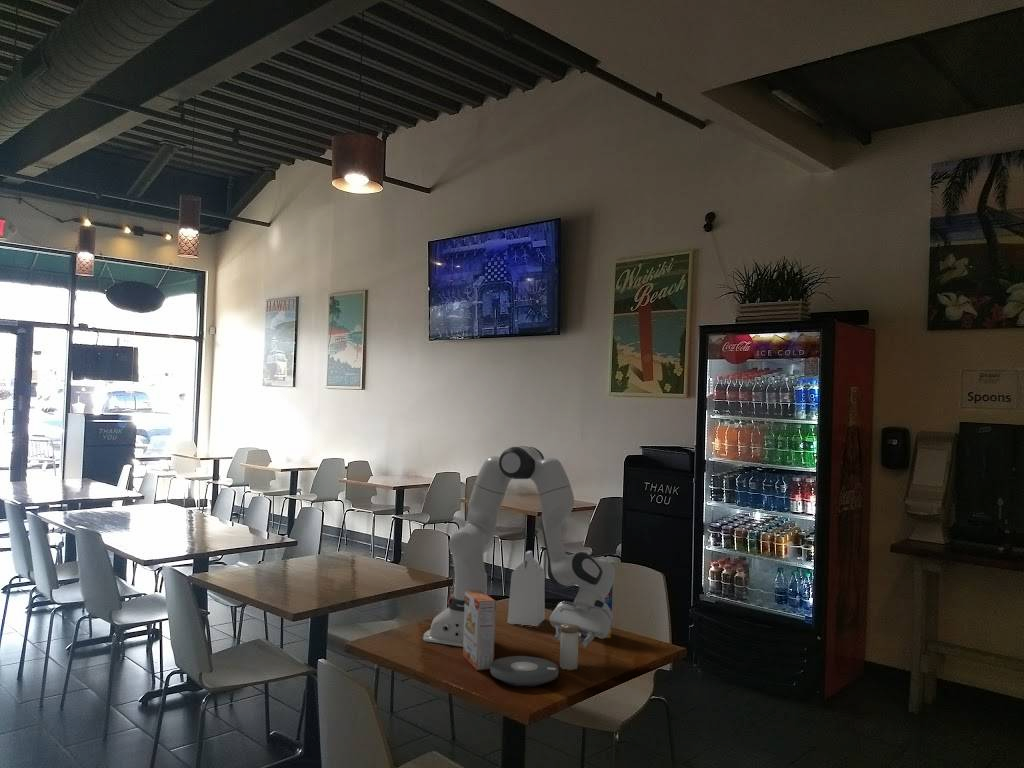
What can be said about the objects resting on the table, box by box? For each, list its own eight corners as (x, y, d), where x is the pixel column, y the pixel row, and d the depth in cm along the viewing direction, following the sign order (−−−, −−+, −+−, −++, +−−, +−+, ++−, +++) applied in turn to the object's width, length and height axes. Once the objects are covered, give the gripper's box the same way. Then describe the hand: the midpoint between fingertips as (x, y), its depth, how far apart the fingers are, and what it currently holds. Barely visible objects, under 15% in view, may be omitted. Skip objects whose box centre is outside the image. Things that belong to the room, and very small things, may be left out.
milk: (515, 616, 293) (518, 548, 294) (544, 619, 290) (546, 550, 291) (507, 623, 282) (509, 553, 283) (537, 627, 279) (540, 555, 280)
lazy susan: (484, 680, 214) (484, 674, 214) (496, 658, 234) (496, 653, 234) (554, 687, 211) (554, 680, 211) (561, 664, 231) (561, 658, 231)
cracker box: (461, 657, 240) (464, 590, 241) (479, 655, 242) (482, 589, 243) (475, 671, 227) (478, 600, 228) (494, 669, 229) (496, 599, 230)
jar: (558, 669, 232) (559, 628, 232) (560, 663, 238) (561, 623, 238) (577, 670, 231) (578, 629, 232) (578, 664, 237) (579, 624, 237)
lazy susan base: (496, 684, 217) (496, 679, 217) (504, 668, 230) (504, 663, 230) (544, 688, 214) (545, 683, 214) (550, 672, 228) (550, 667, 228)
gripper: (556, 594, 248) (538, 630, 239) (611, 605, 235) (593, 643, 227) (564, 605, 251) (546, 641, 243) (618, 617, 238) (601, 655, 230)
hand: (569, 642), depth 235 cm, fingers open, 8 cm apart
